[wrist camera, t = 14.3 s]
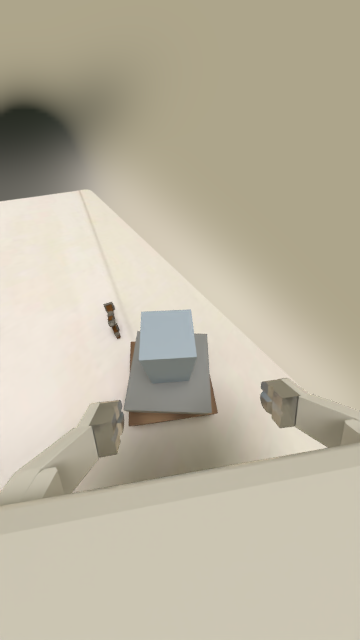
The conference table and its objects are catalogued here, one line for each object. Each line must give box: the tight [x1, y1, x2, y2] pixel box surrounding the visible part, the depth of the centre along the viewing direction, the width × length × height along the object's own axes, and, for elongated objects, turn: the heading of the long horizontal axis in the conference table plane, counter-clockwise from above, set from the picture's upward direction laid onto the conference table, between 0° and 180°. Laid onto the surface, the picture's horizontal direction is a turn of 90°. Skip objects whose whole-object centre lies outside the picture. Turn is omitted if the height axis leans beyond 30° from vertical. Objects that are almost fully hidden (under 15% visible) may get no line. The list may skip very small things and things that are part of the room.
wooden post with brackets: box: [103, 302, 120, 339], centre depth 34 cm, size 2×8×4 cm, turn 25°
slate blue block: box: [139, 310, 197, 384], centre depth 18 cm, size 4×4×9 cm
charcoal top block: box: [124, 331, 212, 415], centre depth 24 cm, size 10×10×4 cm
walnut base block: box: [129, 342, 218, 426], centre depth 28 cm, size 12×12×4 cm
